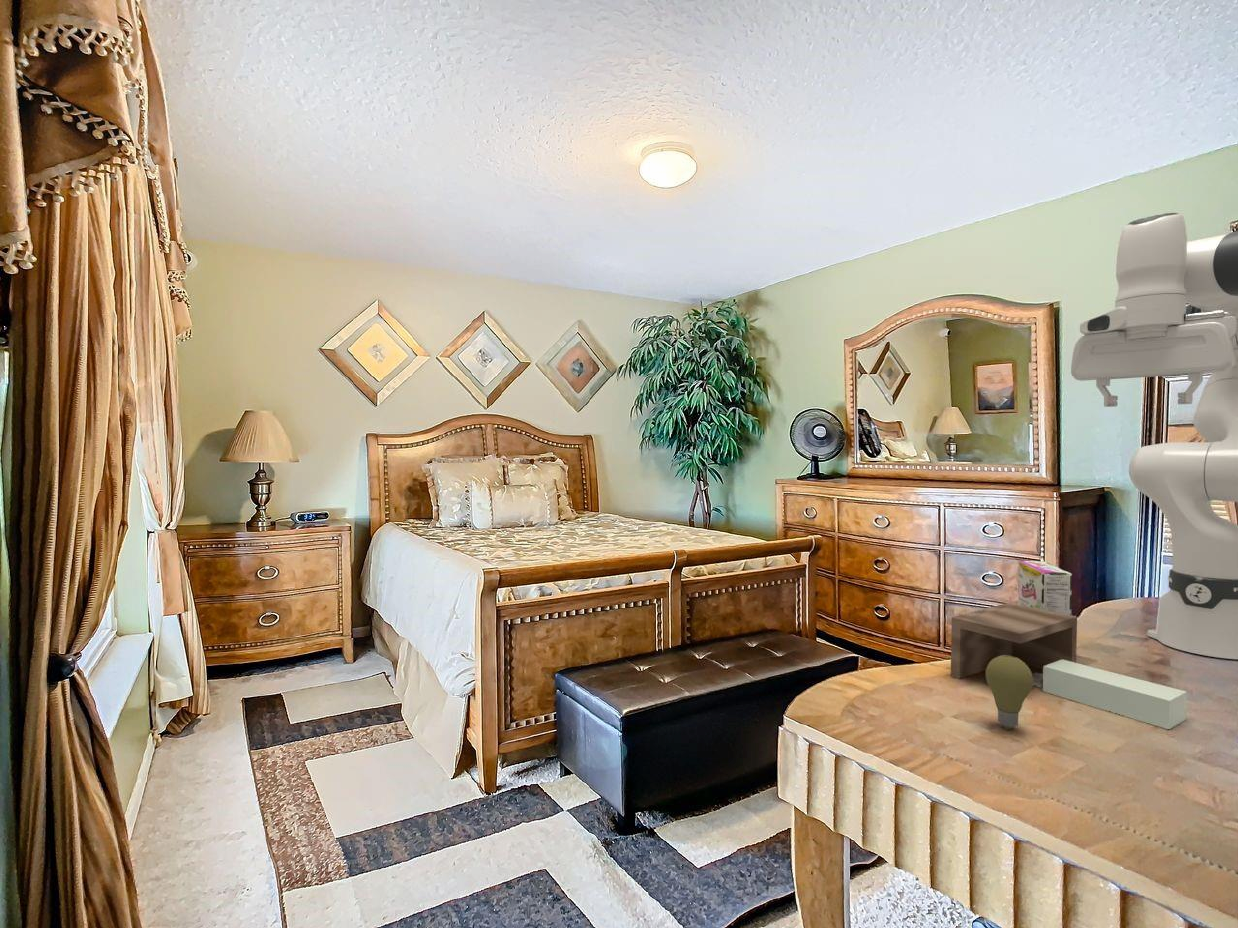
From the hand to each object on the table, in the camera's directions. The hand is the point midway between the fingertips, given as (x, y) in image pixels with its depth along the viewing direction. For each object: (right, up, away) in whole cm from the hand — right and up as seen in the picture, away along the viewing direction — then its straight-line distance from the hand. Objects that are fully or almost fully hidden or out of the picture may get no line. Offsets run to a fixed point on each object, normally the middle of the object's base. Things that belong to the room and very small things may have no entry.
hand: (1146, 405), depth 104 cm
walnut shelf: (-18, -45, +5) cm, 49 cm away
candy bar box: (-6, -45, +16) cm, 48 cm away
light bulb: (-31, -46, -14) cm, 57 cm away
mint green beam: (-11, -45, -7) cm, 47 cm away
